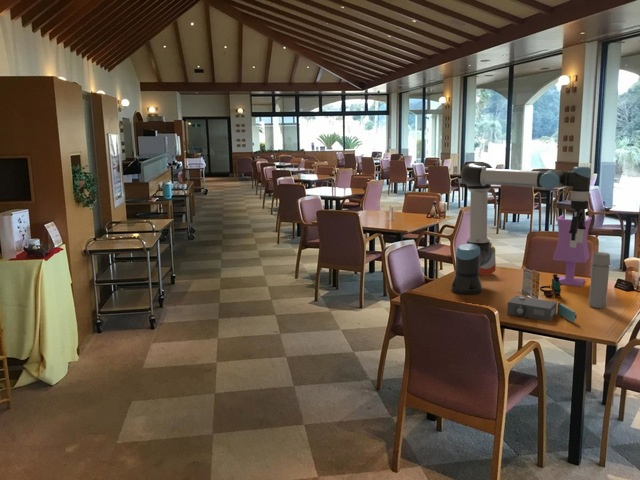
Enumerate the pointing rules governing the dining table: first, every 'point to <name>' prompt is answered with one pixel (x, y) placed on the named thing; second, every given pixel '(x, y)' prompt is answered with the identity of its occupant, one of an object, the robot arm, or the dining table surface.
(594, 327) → the dining table surface
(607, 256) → the water bottle
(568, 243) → the purple table lamp
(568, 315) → the side door
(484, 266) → the french fries container
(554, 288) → the binoculars
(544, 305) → the block
